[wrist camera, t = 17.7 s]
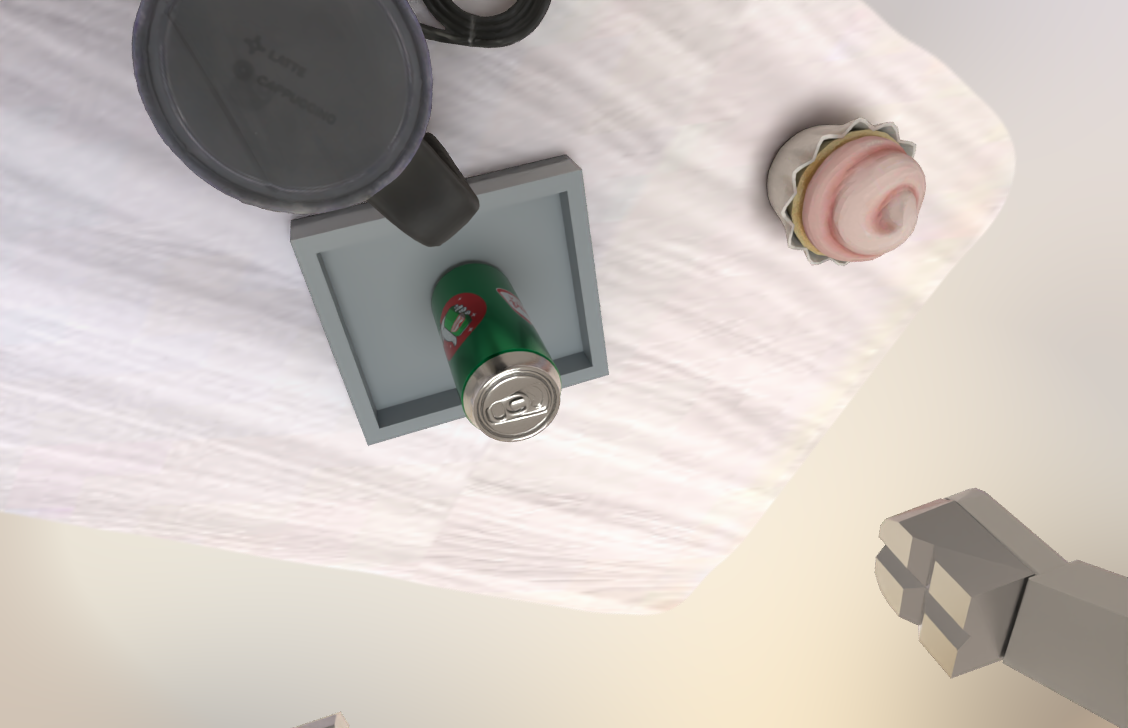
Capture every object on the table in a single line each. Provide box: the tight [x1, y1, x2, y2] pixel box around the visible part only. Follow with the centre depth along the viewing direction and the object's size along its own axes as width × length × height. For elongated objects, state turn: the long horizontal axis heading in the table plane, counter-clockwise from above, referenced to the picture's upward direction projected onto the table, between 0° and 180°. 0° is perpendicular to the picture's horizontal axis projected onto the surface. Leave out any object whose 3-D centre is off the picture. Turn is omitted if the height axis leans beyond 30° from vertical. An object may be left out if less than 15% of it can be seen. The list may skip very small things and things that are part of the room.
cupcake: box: [767, 117, 926, 266], centre depth 45 cm, size 9×9×10 cm
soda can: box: [431, 263, 562, 442], centre depth 40 cm, size 5×5×12 cm
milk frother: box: [132, 0, 551, 247], centre depth 30 cm, size 14×16×15 cm
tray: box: [290, 155, 609, 446], centre depth 45 cm, size 16×14×3 cm
